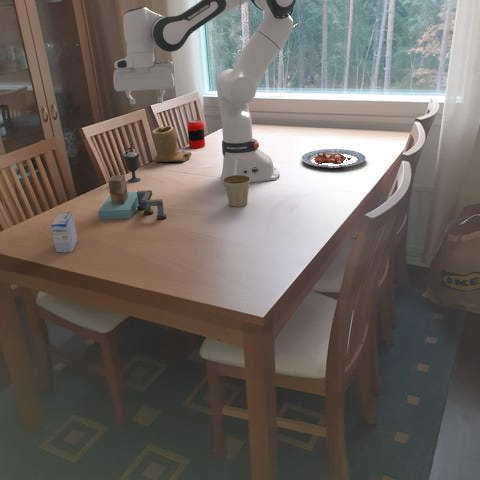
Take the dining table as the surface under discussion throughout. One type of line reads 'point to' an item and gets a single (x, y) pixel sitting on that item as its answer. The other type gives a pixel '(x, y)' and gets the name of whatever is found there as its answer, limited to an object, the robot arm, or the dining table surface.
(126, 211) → the platform
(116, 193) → the walnut block
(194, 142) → the soda can
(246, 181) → the flower pot
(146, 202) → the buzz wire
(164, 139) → the tan hollow bent piece
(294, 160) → the dining table surface
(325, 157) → the ceramic plate
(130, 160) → the sundae
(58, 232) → the medicine box
